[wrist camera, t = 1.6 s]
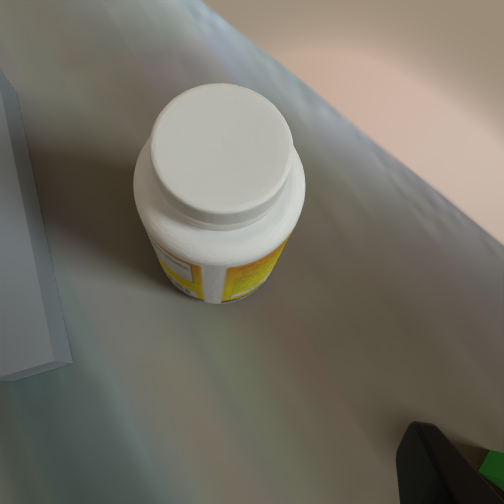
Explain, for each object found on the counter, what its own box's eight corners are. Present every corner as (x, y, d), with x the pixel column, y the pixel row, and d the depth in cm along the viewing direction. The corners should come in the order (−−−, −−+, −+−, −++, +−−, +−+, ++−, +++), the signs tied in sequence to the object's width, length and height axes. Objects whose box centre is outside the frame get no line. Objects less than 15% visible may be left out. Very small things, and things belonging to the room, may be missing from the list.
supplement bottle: (282, 205, 23) (335, 78, 14) (265, 315, 22) (310, 261, 12) (171, 185, 23) (144, 39, 13) (146, 294, 22) (94, 220, 12)
